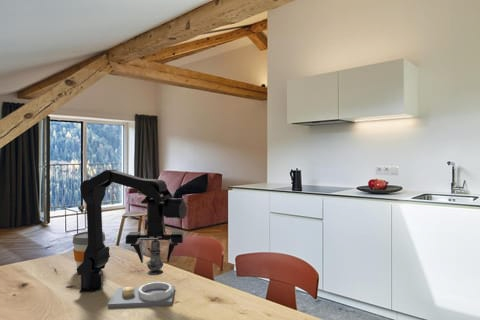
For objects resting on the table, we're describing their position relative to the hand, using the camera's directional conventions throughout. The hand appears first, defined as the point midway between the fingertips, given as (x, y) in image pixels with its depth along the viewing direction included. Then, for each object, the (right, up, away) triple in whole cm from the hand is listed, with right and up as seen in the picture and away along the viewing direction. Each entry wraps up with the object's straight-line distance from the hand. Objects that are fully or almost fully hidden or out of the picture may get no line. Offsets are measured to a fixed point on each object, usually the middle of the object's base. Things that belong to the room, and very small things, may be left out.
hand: (155, 262), depth 116 cm
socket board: (-4, -12, 0) cm, 13 cm away
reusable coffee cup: (-34, -11, +26) cm, 45 cm away
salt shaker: (0, -4, 0) cm, 4 cm away
